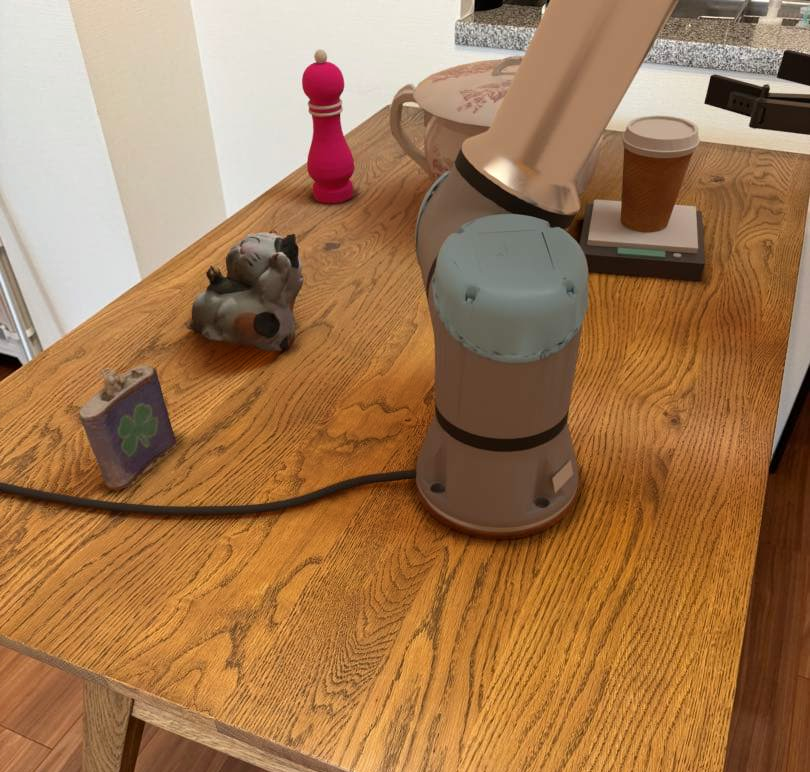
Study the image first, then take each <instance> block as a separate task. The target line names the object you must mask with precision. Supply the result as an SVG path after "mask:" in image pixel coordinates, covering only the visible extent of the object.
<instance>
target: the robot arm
mask: <svg viewBox="0 0 810 772" xmlns="http://www.w3.org/2000/svg"><path fill="white" fill-rule="evenodd" d="M679 1H680V0H549V2H548V4H547V7H546V9H545V11H544V12H543V14H542V15H543V16H542V17H541V19H540V20H539V23H538V26H537V27H536V29H535V32H534V34H533V35H532V38H531V40H530V42H529V44H528V47H527V48H526V51H525V53H524V55H523V56H524V57H523V59H522V61H521V63H520V65H519V68H518V70H517V72H516V74H515V76H514V78H513V80H512V82H511V84H510V87H509V89H508V91H507V93H506V95H505V97H504V99H503V101H502V103H501V106H500V108H499V110H498V112H497V114H496V116H495V118H494V120H493V122H492V125H491V127H490V128H489V130H488V131H486V132H484V133H481V134H478V135H476V136H473V137H471V138H468V139H466V140H465V141H464V142H463V144H462V146H461V149H460V151H459V153H458V155H457V157H456V160H455V162H454V164H453V166H452V168H451V170H450V171H447V172H446V173H444V174H443V175H442V176H441V177H440V178H438V179H437V180H436V182H435V183H434V184H432V185H431V186H430V187H429V189H428V190H427V192H426V194H425V195H424V198H423V199H422V202H421V204H420V207H419V209H418V213H417V218H416V219H417V220H416V224H415V231H414V241H415V243H414V247H415V255H416V259H417V260H416V261H417V264H418V267H420V272H421V277H422V282H423V286H424V292H425V296H426V301H427V305H428V309H429V310H428V311H429V315H430V321H431V326H432V332H433V341H434V342H433V343H434V415H433V418H432V421H431V423H430V426H429V427H428V429H427V432H426V435H425V437H424V440H423V443H422V445H421V448H420V450H419V452H418V456H417V458H416V459H417V460H416V465H415V468H414V469H406V470H405V469H404V470H397V471H390V472H381V473H371V474H365V475H360V476H356V477H352V478H348V479H346V480H342V481H339V482H336V483H334V484H330V485H327V486H325V487H323V488H320V489H317V490H315V491H312V492H311V491H310V492H309V493H305V494H303V495H298V496H296V497H292V498H288V499H287V498H286V499H282V500H278V501H277V500H276V501H270V502H263V503H255V504H245V505H244V504H242V505H240V504H239V505H200V506H199V505H198V506H197V505H196V506H191V505H189V506H188V505H187V506H186V505H185V506H178V505H176V506H175V505H155V504H154V505H151V504H139V503H128V502H127V503H126V502H118V501H108V500H99V499H91V498H85V497H81V496H80V497H78V496H73V495H67V494H61V493H56V492H49V491H45V490H39V489H34V488H29V487H24V486H20V485H14V484H10V483H5V482H0V492H1V493H6V494H11V495H14V496H20V497H24V498H29V499H35V500H38V501H45V502H49V503H55V504H60V505H61V504H62V505H66V506H73V507H78V508H85V509H91V510H97V511H105V512H116V513H125V514H127V513H128V514H137V515H149V516H152V515H153V516H173V517H176V516H177V517H201V516H208V517H209V516H245V515H257V514H265V513H266V514H267V513H272V512H278V511H284V510H290V509H293V508H297V507H302V506H304V505H307V504H310V503H313V502H316V501H319V500H322V499H324V498H327V497H329V496H332V495H335V494H337V493H341V492H344V491H346V490H350V489H354V488H357V487H361V486H366V485H372V484H379V483H388V482H396V481H397V482H398V481H404V480H414V479H415V489H416V494H417V497H418V499H419V501H420V503H421V505H422V506H423V508H424V509H425V510H426V511H427V513H428V514H429V515H431V516H432V518H434V519H436V520H437V521H438V522H439V523H441V524H442V525H444V526H445V527H448V528H450V529H452V530H454V531H456V532H459V533H462V534H465V535H467V536H471V537H477V538H481V539H488V540H489V539H490V540H511V539H512V540H513V539H519V538H524V537H529V536H533V535H535V534H538V533H539V534H540V533H541V532H543V531H546V530H548V529H549V528H551V527H553V526H555V525H556V524H558V523H559V522H560V521H561V520H562V519H564V517H566V515H567V514H569V512H570V510H571V509H572V507H573V505H574V504H575V503H574V502H575V500H576V497H577V493H578V487H579V485H578V484H579V477H580V476H579V465H578V460H577V457H576V451H575V447H574V443H573V440H572V436H571V432H570V427H569V422H568V419H569V413H570V407H571V400H572V399H571V398H572V393H573V389H574V381H575V375H576V369H577V363H578V358H579V357H578V356H579V349H580V344H581V343H580V342H581V337H582V331H583V325H584V321H585V319H586V318H585V317H586V314H587V312H588V308H589V307H588V306H589V296H590V294H589V284H588V283H589V272H588V266H587V261H586V257H585V255H584V252H583V251H582V249H581V247H580V245H579V243H578V241H577V240H576V239H575V238H574V237H573V236H571V234H570V233H569V232H568V231H569V229H570V227H571V225H572V223H573V222H574V220H575V218H576V217H577V215H578V213H579V212H580V209H581V207H582V203H581V199H580V198H581V197H579V194H578V189H577V178H578V176H579V174H580V173H581V171H582V169H583V167H584V165H585V164H586V162H587V160H588V158H589V157H590V155H591V153H592V151H593V150H594V148H595V146H596V144H597V143H598V141H599V139H600V137H601V136H602V134H604V132H605V130H606V129H607V127H608V125H609V124H610V122H611V120H612V118H613V116H614V115H615V113H616V111H617V110H618V108H619V106H620V104H621V102H622V100H623V99H624V97H625V96H626V93H627V92H628V90H629V89H630V86H631V85H632V83H633V81H634V79H635V78H636V76H637V74H638V73H639V71H640V69H641V67H642V66H643V64H644V62H645V60H646V59H647V57H648V55H649V53H650V52H651V50H652V48H653V46H654V45H655V43H656V41H657V39H658V37H659V36H660V34H661V33H662V30H663V28H664V27H665V25H666V23H667V22H668V20H669V18H670V16H671V15H672V13H673V11H674V9H676V6H677V4H678V2H679ZM781 57H782V58H781V61H780V65H779V68H778V72H777V74H776V78H777V79H779V80H784V81H787V82H792V83H796V84H800V85H804V86H807V87H810V54H809V53H804V52H800V51H796V50H792V49H786V50H784V52H783V54H782V56H781ZM770 91H771V86H770V84H769V83H767V84H763V85H758V84H754V83H750V82H747V81H743V80H739V79H734V78H731V77H727V76H723V75H720V74H716V73H715V74H712V75H710V76H709V81H708V85H707V90H706V94H705V97H704V102H703V104H704V105H706V106H710V107H714V108H717V109H721V110H725V111H728V112H732V113H735V114H738V115H741V116H745V117H748V118H749V119H750V120H749V123H748V127H749V129H750V128H751V129H754V130H755V129H757V130H767V131H774V132H781V133H789V134H798V135H805V136H810V94H809V93H786V92H785V93H784V92H770Z"/></svg>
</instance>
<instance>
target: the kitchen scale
mask: <svg viewBox="0 0 810 772" xmlns="http://www.w3.org/2000/svg"><path fill="white" fill-rule="evenodd" d="M620 220H621V200H608V199H593V203H590V202H587V203H586V204H585V210H584V215H583V222H582V227H581V232H580V239H579V243H578V244H579V245H580V247H581V249H582V251H583V252H584V255H585V257H586V261H587V266H588V273H589V272H590V273H591V272H592V273H601V274H614V275H624V276H636V277H637V276H638V277H648V278H649V277H650V278H660V279H670V280H671V279H672V280H684V281H685V280H686V281H696V282H701V281H702V277H703V273H704V271H705V267H706V255H705V253H706V252H705V239H704V238H705V237H704V224H703V211H702V210H697V206H695V205H682V204H675V205H674V208H673V211H672V214H671V217H670V220H669V223H668V225H667V227H666V228H664V229H662V230H659V231H654V232H641V231H635V230H632V229H629V228H627V227H625V226H624V225H623V224H622V223H621V221H620Z"/></svg>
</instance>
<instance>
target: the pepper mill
mask: <svg viewBox="0 0 810 772" xmlns="http://www.w3.org/2000/svg"><path fill="white" fill-rule="evenodd" d="M313 58H314V61H315V62H313V63H311V64H309V65H307V67H306V68H305V69H304V71H303V73H302V78H301V87H302V91H303V94H305V96H306V97H307V98H308V101H307V105H308V111H307V112H308V113H309V115H311V118H312V138H311V144H310V146H309V150H308V154H307V161H306V168H307V174H308V176H309V177H310V178H311V179H312V181H314V182H313V184H312V194H313V195H312V196H313V198H314V200H315V201H316V202H320V203H322V204H340V203H344V202H346V201H348V200H350V199H351V198H353V196H354V183H353V182H352V181H351V180H350V179H351V178H352V176H353V174H354V172H355V169H356V167H355V159H354V157H353V154H352V150H351V148H350V147H349V144H348V142H347V140H346V138H345V135H344V132H343V127H342V122H341V121H342V120H341V113H342V112H343V110H344V107H343V105H342V104H343V100H342V99H341V96H342V94H343V93H344V90H345V78H344V74H343V73H342V70H341V69H340V67H339V66H337V65H336V64H335V63H333V62H330V61H328V54H327V52H326V51H325V50H324V49H321V48H319V49H317V50H316V51H315V52H314V57H313Z"/></svg>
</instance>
